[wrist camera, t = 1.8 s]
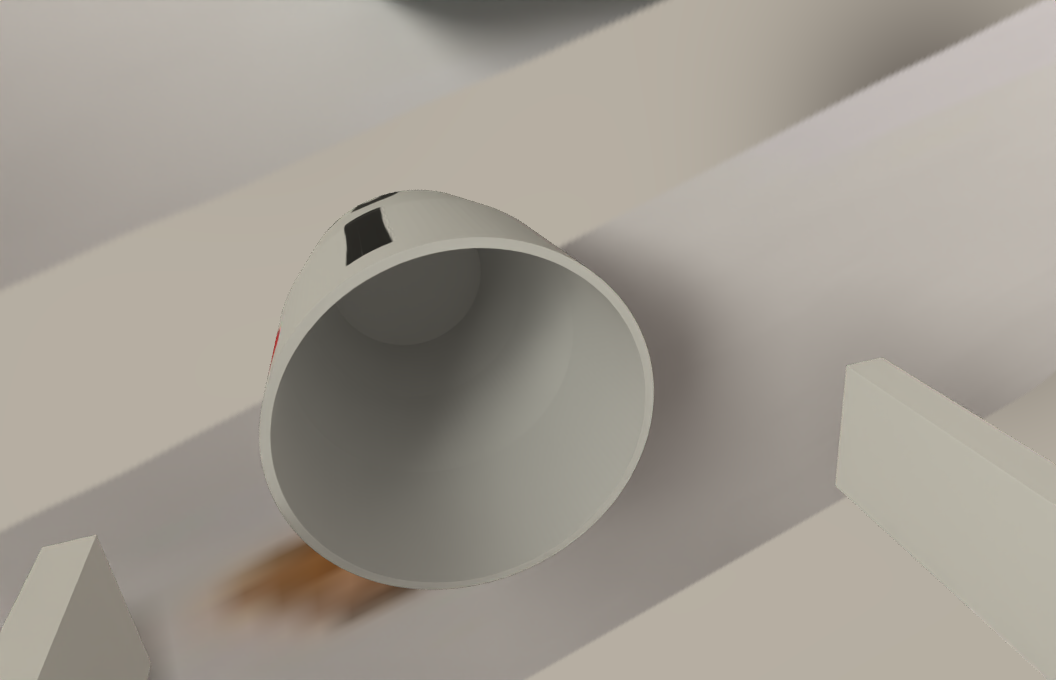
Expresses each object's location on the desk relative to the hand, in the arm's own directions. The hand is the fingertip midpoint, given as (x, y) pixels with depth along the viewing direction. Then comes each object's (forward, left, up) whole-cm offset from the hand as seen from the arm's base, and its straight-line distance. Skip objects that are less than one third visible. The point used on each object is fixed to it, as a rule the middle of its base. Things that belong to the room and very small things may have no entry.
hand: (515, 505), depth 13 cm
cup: (0, 0, -13) cm, 13 cm away
